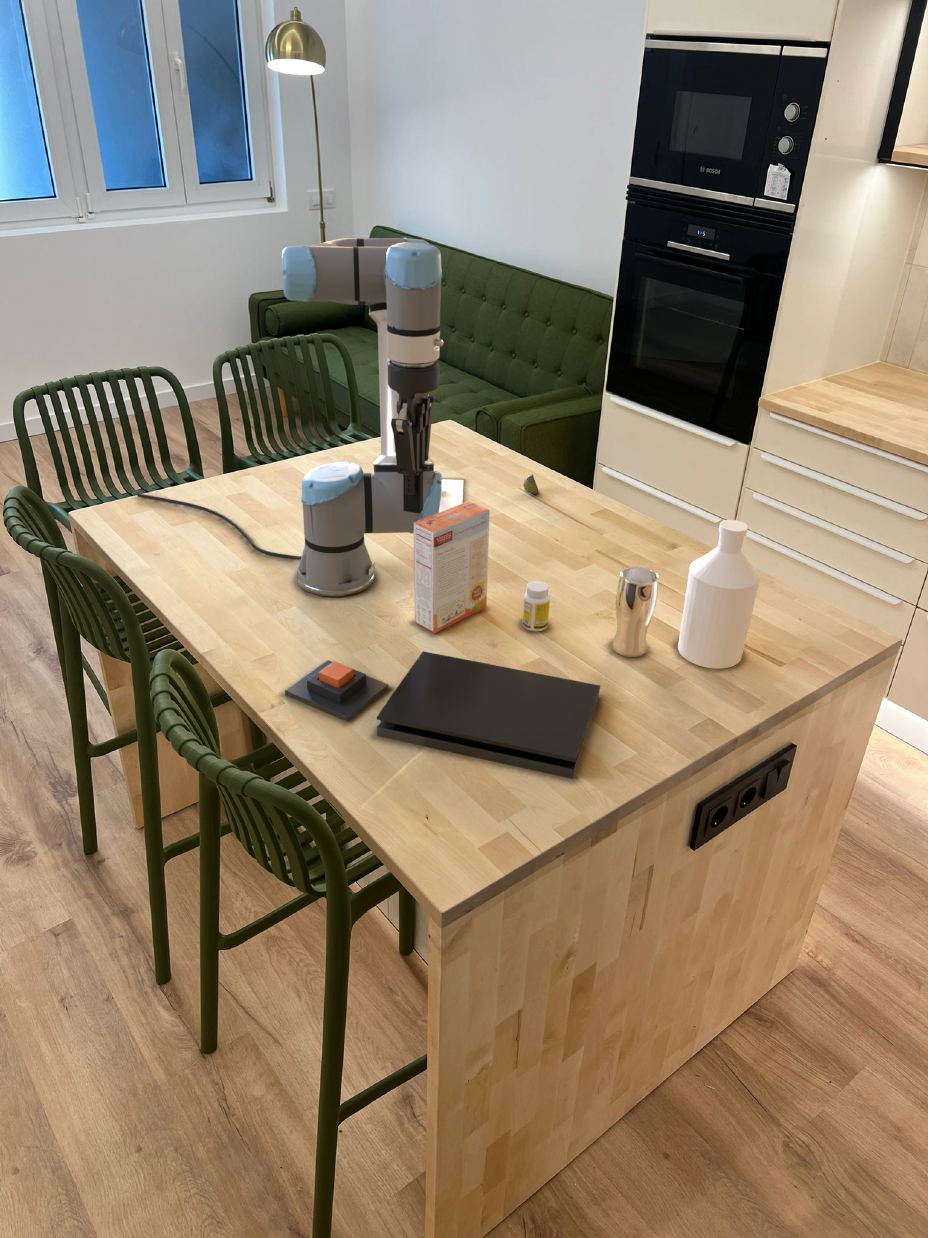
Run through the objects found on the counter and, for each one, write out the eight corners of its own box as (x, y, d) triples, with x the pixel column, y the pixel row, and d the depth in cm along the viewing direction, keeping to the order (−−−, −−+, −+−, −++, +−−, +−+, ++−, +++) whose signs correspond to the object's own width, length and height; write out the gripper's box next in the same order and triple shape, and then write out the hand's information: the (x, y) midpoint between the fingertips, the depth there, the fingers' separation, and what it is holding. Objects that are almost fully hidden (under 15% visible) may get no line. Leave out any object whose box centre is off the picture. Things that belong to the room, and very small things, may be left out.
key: (319, 681, 153) (318, 672, 153) (334, 669, 156) (334, 661, 156) (338, 689, 152) (338, 680, 151) (353, 677, 155) (353, 668, 154)
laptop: (573, 779, 138) (574, 769, 137) (376, 736, 146) (376, 726, 145) (598, 698, 156) (599, 689, 155) (422, 663, 163) (422, 654, 162)
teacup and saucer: (444, 498, 224) (445, 483, 222) (411, 497, 224) (411, 481, 222) (445, 484, 232) (446, 469, 230) (413, 483, 232) (413, 468, 230)
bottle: (756, 664, 166) (784, 537, 153) (696, 673, 163) (720, 544, 150) (722, 630, 176) (746, 507, 163) (664, 638, 173) (685, 514, 160)
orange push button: (285, 695, 154) (283, 680, 153) (327, 664, 162) (327, 650, 161) (347, 722, 148) (347, 707, 147) (388, 689, 157) (388, 674, 155)
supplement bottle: (550, 621, 177) (553, 582, 173) (543, 634, 173) (547, 594, 169) (525, 616, 178) (528, 577, 174) (518, 629, 174) (521, 589, 170)
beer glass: (606, 638, 172) (615, 565, 165) (643, 637, 173) (654, 565, 165) (614, 659, 166) (624, 585, 159) (652, 658, 167) (664, 584, 159)
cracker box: (465, 597, 184) (468, 499, 173) (487, 609, 180) (492, 509, 169) (411, 622, 175) (412, 520, 164) (433, 635, 172) (435, 531, 161)
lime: (531, 488, 231) (532, 469, 229) (545, 494, 228) (546, 475, 226) (518, 493, 229) (519, 473, 226) (532, 499, 226) (534, 480, 223)
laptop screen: (575, 763, 137) (575, 758, 136) (376, 720, 144) (376, 716, 144) (599, 689, 155) (600, 685, 155) (422, 655, 162) (422, 651, 162)
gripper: (423, 375, 128) (422, 531, 140) (452, 351, 139) (448, 497, 151) (372, 369, 130) (375, 523, 142) (404, 345, 141) (404, 490, 153)
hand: (413, 510), depth 147 cm, fingers closed
